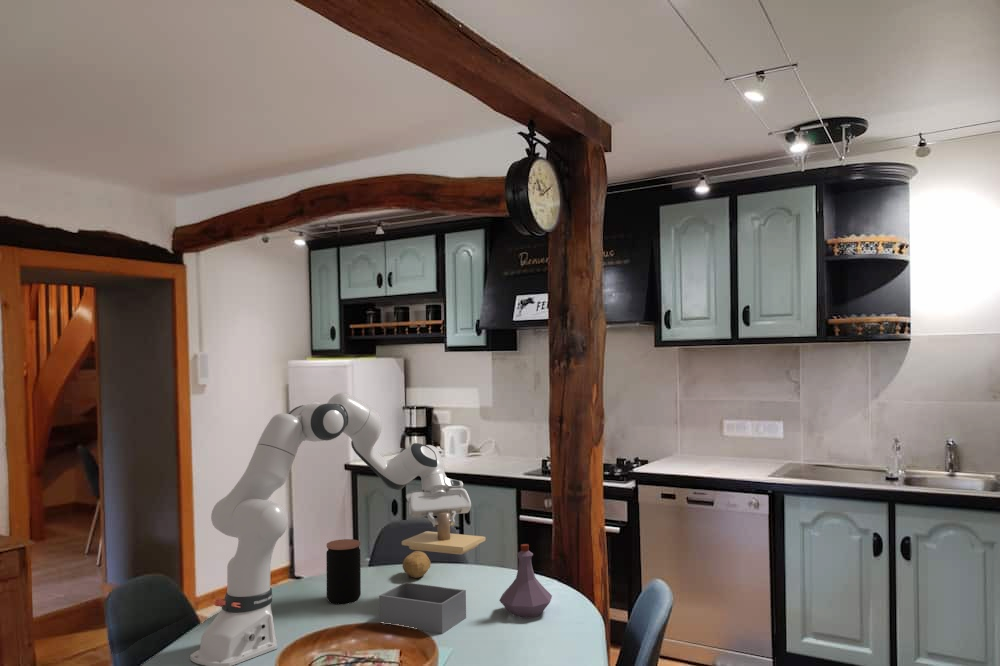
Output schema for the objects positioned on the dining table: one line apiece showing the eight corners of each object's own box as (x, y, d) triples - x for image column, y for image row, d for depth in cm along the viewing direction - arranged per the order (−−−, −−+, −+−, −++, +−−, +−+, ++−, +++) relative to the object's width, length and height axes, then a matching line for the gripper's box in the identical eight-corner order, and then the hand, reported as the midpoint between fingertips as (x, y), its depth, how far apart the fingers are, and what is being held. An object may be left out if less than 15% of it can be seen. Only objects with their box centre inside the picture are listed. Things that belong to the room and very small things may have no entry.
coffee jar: (364, 594, 236) (364, 539, 237) (355, 605, 226) (354, 547, 227) (333, 594, 238) (332, 538, 238) (321, 604, 227) (321, 546, 228)
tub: (442, 633, 200) (442, 604, 200) (379, 623, 209) (379, 595, 209) (466, 617, 213) (465, 590, 213) (405, 608, 222) (405, 582, 222)
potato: (399, 582, 249) (399, 559, 250) (406, 571, 263) (405, 549, 264) (427, 582, 249) (427, 559, 249) (432, 571, 263) (432, 548, 264)
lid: (463, 556, 218) (462, 520, 218) (401, 549, 227) (401, 515, 228) (485, 545, 231) (485, 511, 232) (426, 539, 241) (426, 506, 241)
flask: (560, 619, 210) (559, 549, 211) (505, 624, 207) (504, 553, 208) (545, 601, 226) (543, 537, 227) (493, 606, 223) (492, 540, 224)
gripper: (406, 485, 233) (413, 521, 224) (467, 481, 240) (476, 516, 230) (403, 497, 237) (410, 533, 228) (463, 492, 244) (472, 527, 234)
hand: (444, 524), depth 229 cm, fingers closed on lid, 4 cm apart
